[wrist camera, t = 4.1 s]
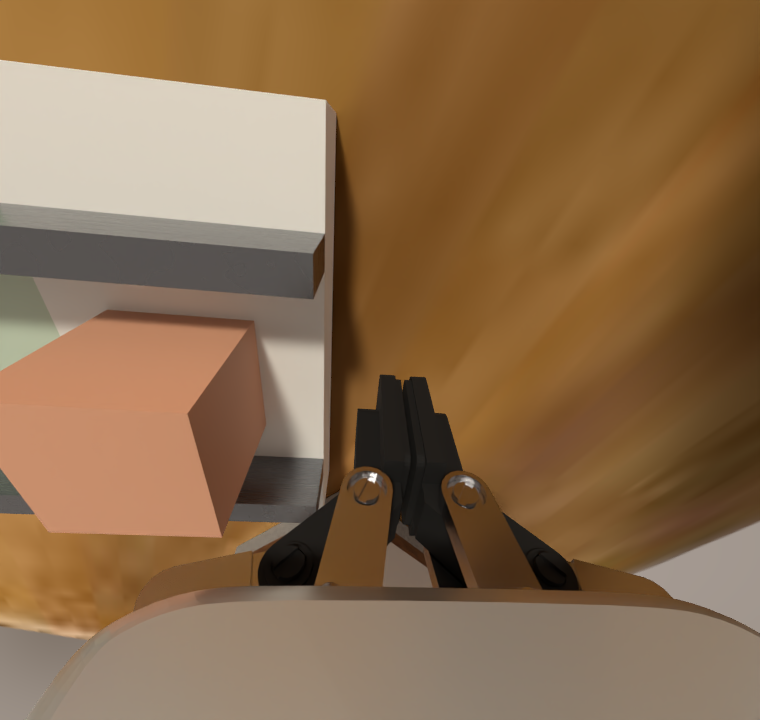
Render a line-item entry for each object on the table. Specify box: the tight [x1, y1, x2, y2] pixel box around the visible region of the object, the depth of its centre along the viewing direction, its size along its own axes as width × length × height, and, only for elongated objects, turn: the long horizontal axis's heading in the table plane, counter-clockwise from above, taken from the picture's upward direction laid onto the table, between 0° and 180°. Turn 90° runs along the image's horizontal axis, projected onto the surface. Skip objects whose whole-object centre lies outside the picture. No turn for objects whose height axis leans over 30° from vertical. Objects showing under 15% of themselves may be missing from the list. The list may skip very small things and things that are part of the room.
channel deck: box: [0, 60, 336, 510], centre depth 14 cm, size 25×18×3 cm
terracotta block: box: [0, 310, 266, 537], centre depth 11 cm, size 5×5×5 cm
